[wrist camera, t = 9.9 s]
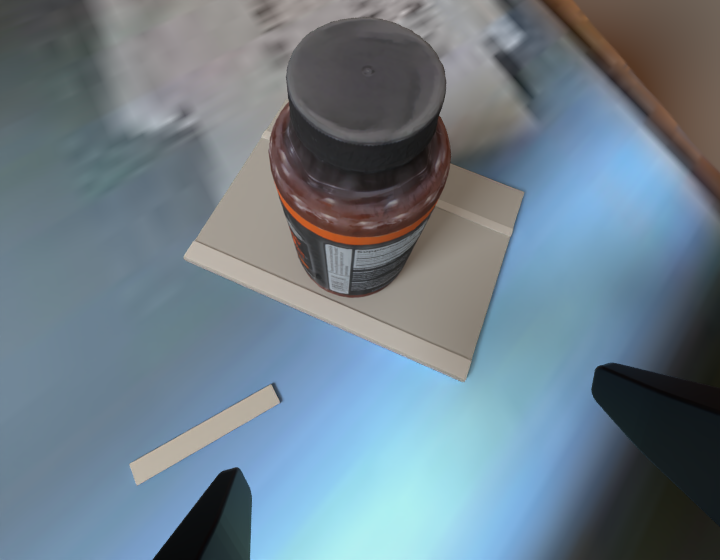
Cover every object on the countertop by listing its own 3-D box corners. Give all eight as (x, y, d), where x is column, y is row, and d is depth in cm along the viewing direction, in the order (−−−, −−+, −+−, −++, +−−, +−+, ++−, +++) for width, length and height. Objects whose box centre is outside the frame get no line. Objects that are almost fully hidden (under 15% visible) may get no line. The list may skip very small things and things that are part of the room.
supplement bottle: (289, 211, 20) (228, -6, 9) (390, 194, 20) (446, -27, 10) (309, 312, 18) (261, 194, 7) (418, 289, 19) (524, 150, 8)
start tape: (280, 402, 17) (280, 402, 17) (138, 484, 16) (136, 485, 15) (271, 384, 17) (271, 384, 17) (130, 463, 16) (129, 463, 16)
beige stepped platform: (521, 195, 21) (525, 191, 21) (461, 381, 18) (465, 381, 17) (287, 104, 22) (286, 98, 22) (186, 261, 19) (182, 257, 18)
